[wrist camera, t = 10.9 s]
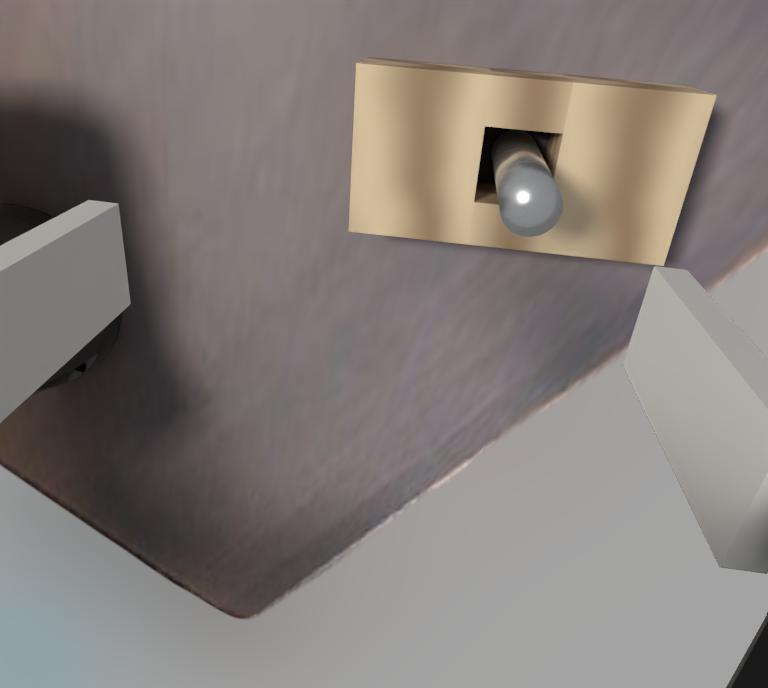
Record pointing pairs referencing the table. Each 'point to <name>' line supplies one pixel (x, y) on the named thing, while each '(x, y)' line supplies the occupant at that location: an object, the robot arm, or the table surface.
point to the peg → (524, 185)
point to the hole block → (564, 158)
